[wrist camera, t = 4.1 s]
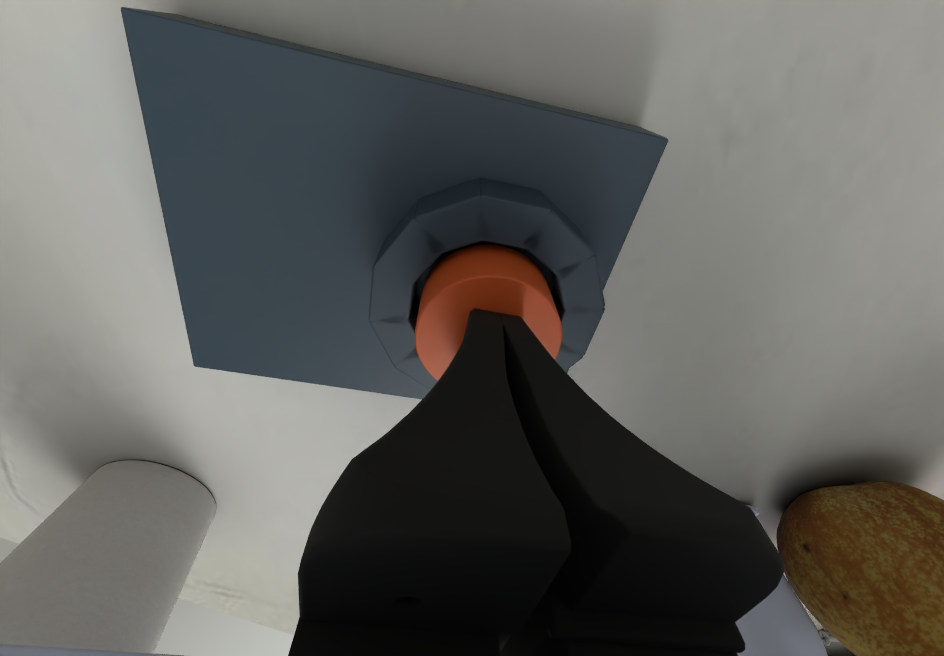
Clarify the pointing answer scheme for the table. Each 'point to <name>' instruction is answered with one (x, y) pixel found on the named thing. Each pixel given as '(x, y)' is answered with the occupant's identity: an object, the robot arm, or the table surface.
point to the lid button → (481, 301)
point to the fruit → (869, 565)
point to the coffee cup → (106, 561)
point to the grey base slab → (362, 199)
